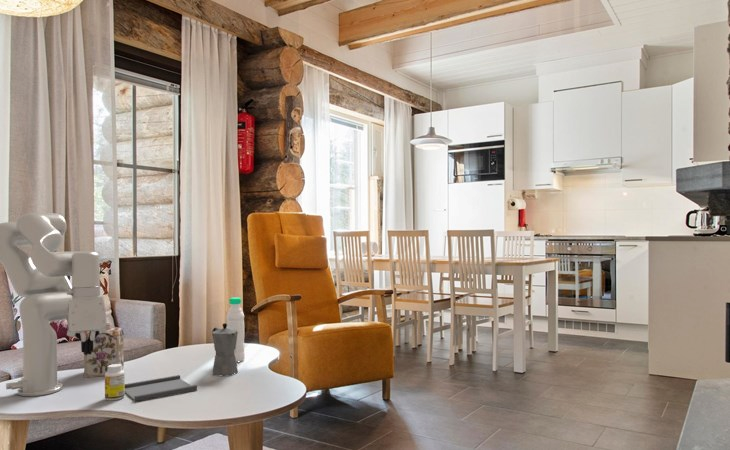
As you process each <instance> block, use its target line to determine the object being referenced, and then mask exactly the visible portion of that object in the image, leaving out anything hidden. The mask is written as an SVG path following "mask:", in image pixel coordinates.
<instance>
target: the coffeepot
mask: <svg viewBox="0 0 730 450" xmlns="http://www.w3.org/2000/svg"><path fill="white" fill-rule="evenodd" d="M226 327H227V322H226V323H222V328H218V327H214V328H213V329H212V330H211V336H212V341H213V346H214V347H213V348H214V351H215V354H214V360H213V367H212V375H213V374H214V375H213V376H215V375H229V376H233V375H232V374H234V373H236V374H237V373H239V370H238V365H237V362H236V358H235V354H234V350H235V349H236V341H237V334H238V331H237V330H234V329H228V328H226ZM234 375H235V374H234Z"/></svg>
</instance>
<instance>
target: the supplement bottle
mask: <svg viewBox="0 0 730 450" xmlns="http://www.w3.org/2000/svg"><path fill="white" fill-rule="evenodd" d="M107 370H108V372H106V373H105V376H104V399H105V400H107V401H119V400H122V399H123V398H124V397H125V396H126V393H125V384H126V383H125V371H124V370H123V369H122V365H121V364H112V365H109V366H108V369H107Z"/></svg>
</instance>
